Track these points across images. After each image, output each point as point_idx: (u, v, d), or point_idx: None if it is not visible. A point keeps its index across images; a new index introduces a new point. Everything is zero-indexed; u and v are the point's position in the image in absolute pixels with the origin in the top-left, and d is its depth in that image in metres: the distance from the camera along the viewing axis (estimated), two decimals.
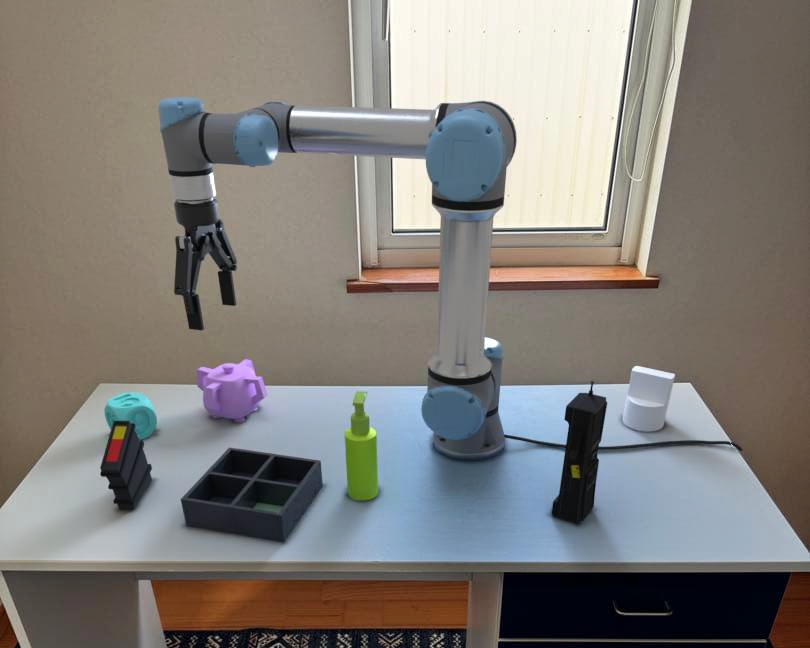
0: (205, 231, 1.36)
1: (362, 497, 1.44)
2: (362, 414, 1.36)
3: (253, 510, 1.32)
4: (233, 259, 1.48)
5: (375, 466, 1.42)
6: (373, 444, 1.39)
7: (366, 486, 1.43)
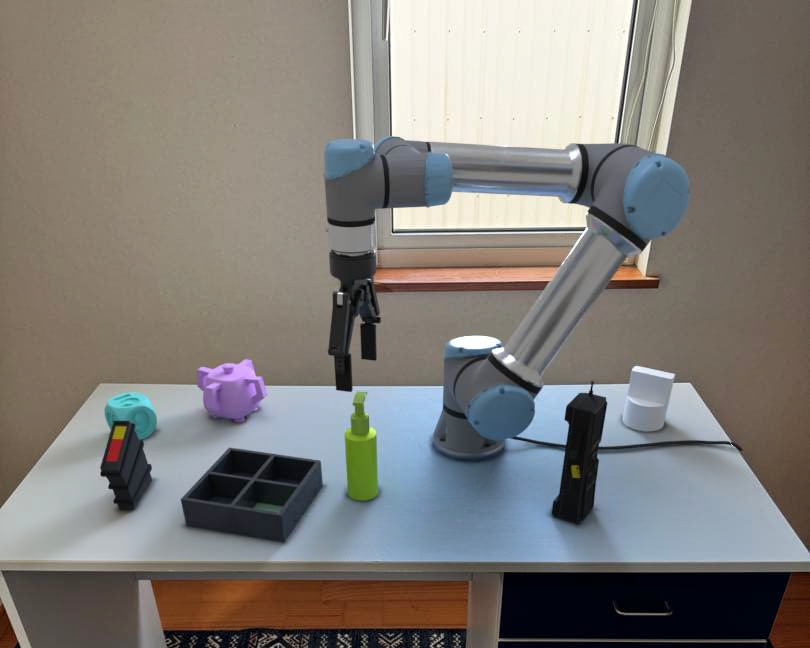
0: (359, 284, 1.23)
1: (362, 497, 1.44)
2: (362, 414, 1.36)
3: (253, 510, 1.32)
4: (377, 310, 1.34)
5: (375, 466, 1.42)
6: (373, 445, 1.39)
7: (366, 486, 1.43)
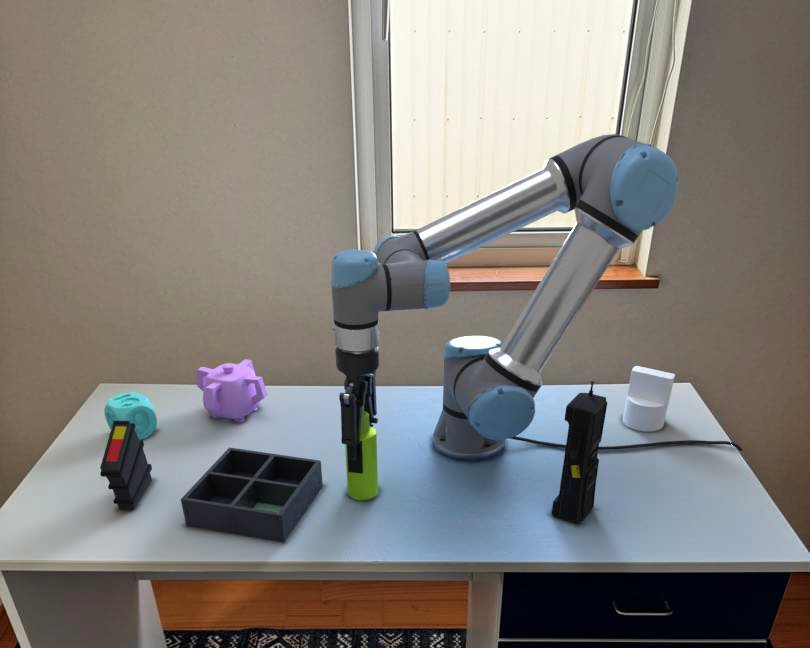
0: (363, 376, 1.32)
1: (362, 496, 1.44)
2: (362, 413, 1.36)
3: (253, 510, 1.32)
4: (375, 409, 1.42)
5: (375, 465, 1.42)
6: (373, 443, 1.39)
7: (366, 485, 1.43)
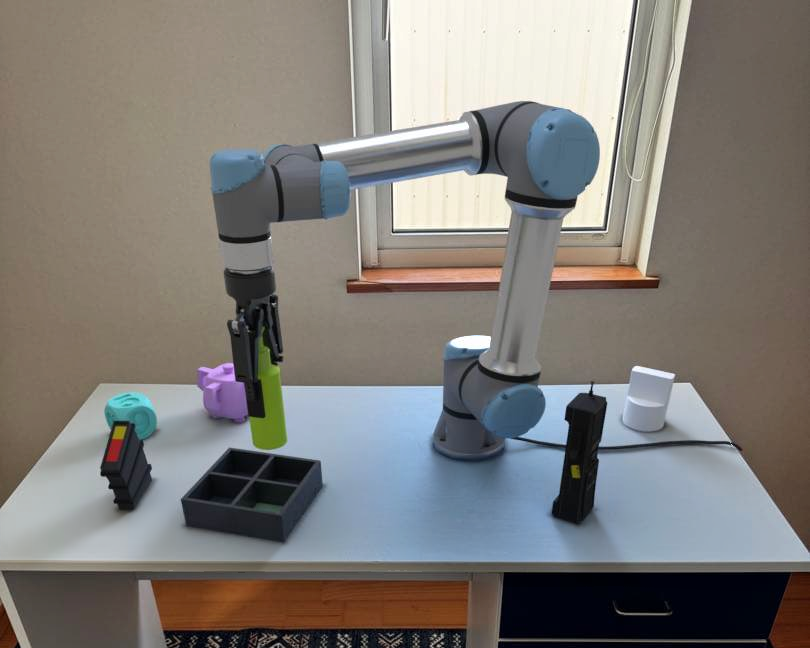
0: (259, 303, 1.15)
1: (267, 446, 1.27)
2: (261, 347, 1.19)
3: (253, 510, 1.32)
4: (280, 346, 1.25)
5: (280, 409, 1.25)
6: (275, 383, 1.22)
7: (271, 433, 1.26)
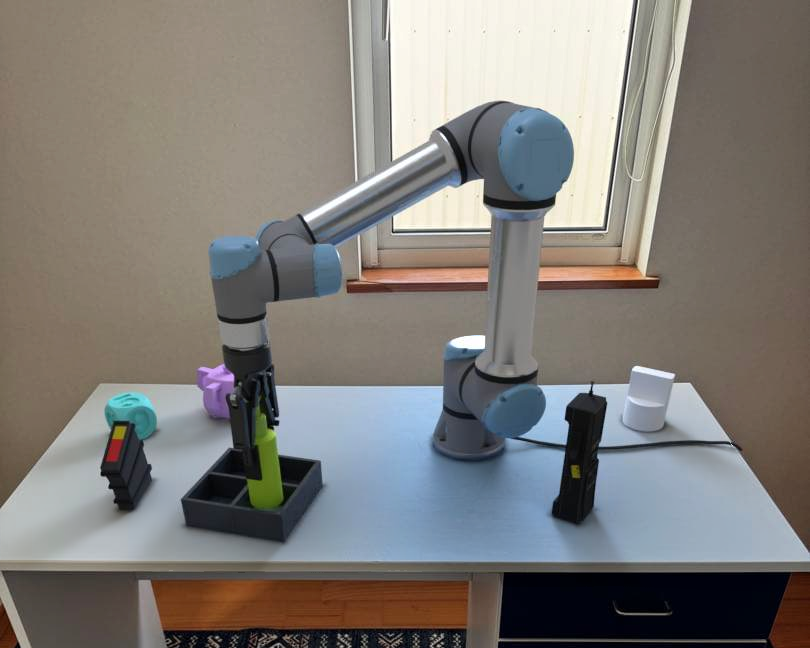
0: (256, 375, 1.21)
1: (264, 505, 1.33)
2: (257, 415, 1.25)
3: (253, 510, 1.32)
4: (276, 411, 1.31)
5: (276, 471, 1.31)
6: (272, 448, 1.28)
7: (268, 493, 1.32)
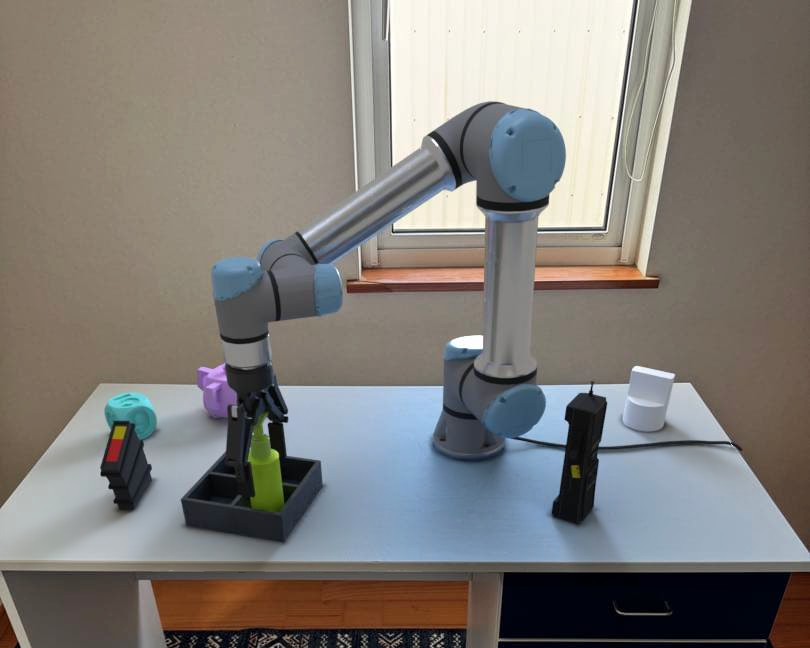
0: (258, 393, 1.23)
1: None
2: (261, 436, 1.27)
3: (253, 510, 1.32)
4: (284, 410, 1.34)
5: (279, 491, 1.33)
6: (275, 468, 1.30)
7: None
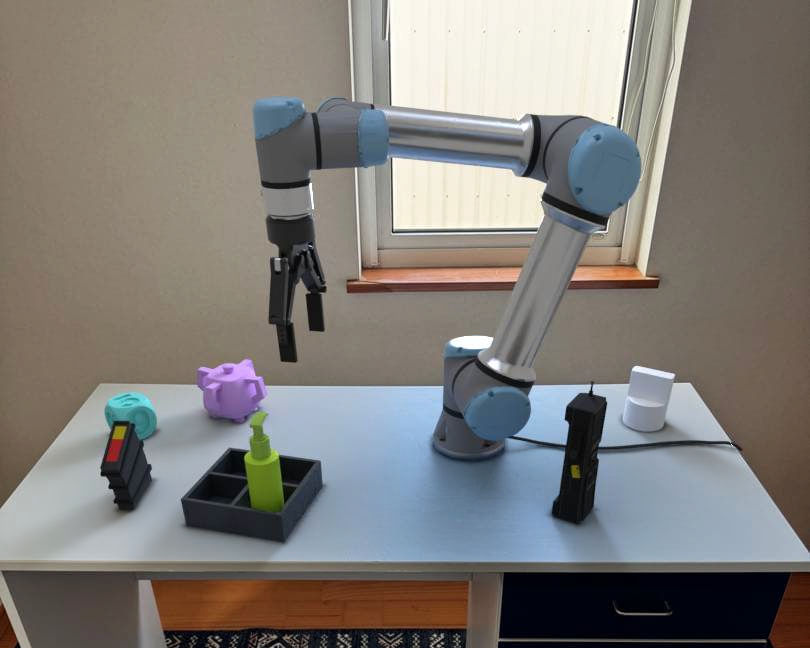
0: (299, 250, 1.19)
1: None
2: (261, 436, 1.27)
3: (253, 510, 1.32)
4: (322, 279, 1.30)
5: (279, 491, 1.33)
6: (275, 469, 1.30)
7: None
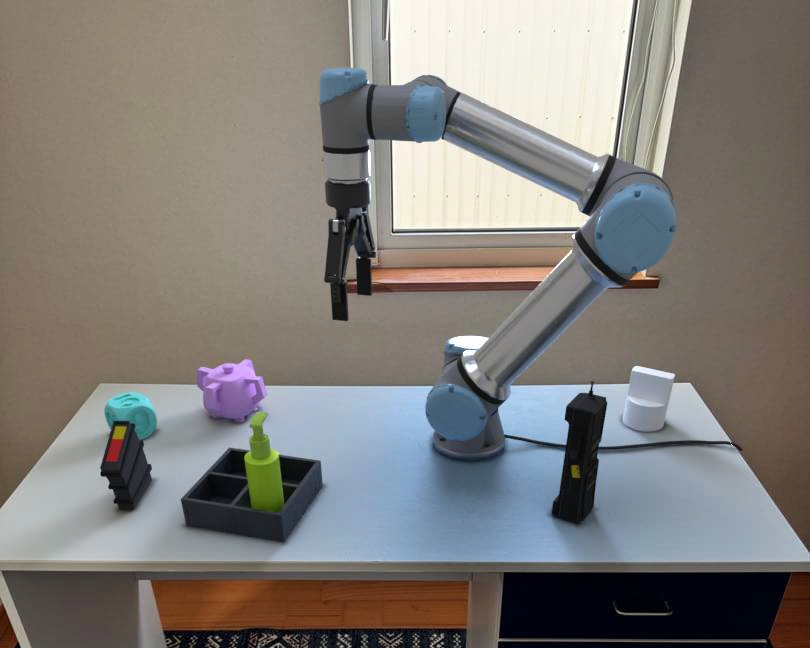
0: (355, 214, 1.27)
1: None
2: (261, 436, 1.27)
3: (253, 510, 1.32)
4: (372, 245, 1.38)
5: (279, 491, 1.33)
6: (275, 469, 1.30)
7: None
